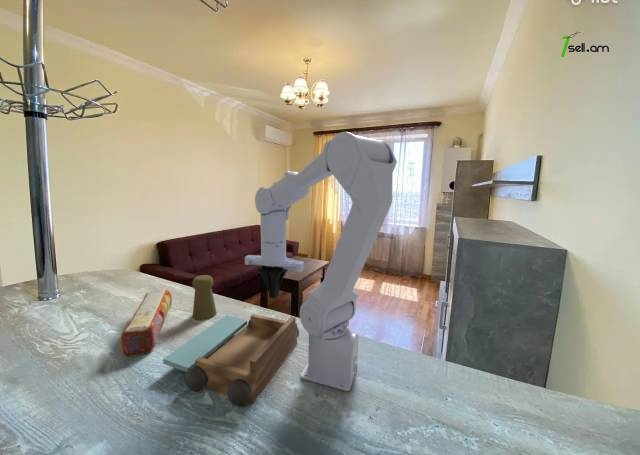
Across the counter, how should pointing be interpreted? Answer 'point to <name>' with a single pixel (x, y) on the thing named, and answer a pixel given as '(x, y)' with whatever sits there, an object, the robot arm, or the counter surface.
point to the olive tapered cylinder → (203, 298)
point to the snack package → (146, 323)
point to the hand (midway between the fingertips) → (273, 296)
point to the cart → (246, 360)
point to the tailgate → (204, 343)
